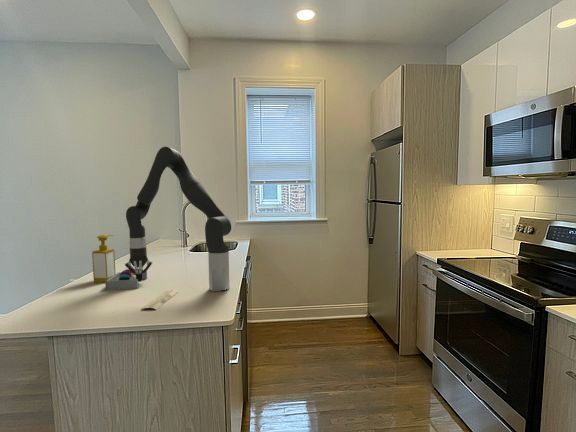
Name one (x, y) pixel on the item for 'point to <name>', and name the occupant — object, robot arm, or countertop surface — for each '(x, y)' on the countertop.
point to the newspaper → (161, 299)
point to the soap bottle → (103, 261)
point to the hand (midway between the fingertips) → (139, 281)
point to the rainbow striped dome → (126, 275)
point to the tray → (122, 282)
